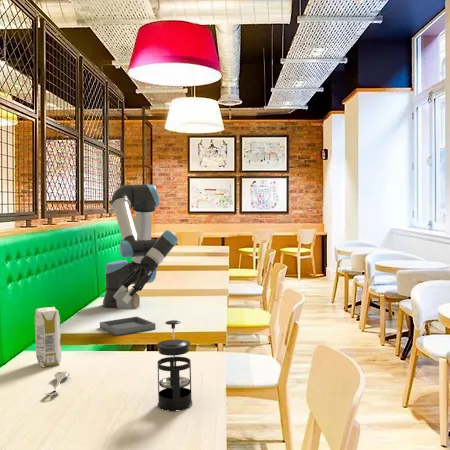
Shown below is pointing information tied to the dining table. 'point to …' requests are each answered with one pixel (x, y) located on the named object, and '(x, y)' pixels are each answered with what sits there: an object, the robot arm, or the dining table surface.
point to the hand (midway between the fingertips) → (119, 300)
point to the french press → (174, 374)
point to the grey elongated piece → (59, 380)
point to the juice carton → (47, 336)
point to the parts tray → (127, 326)
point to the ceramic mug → (131, 304)
